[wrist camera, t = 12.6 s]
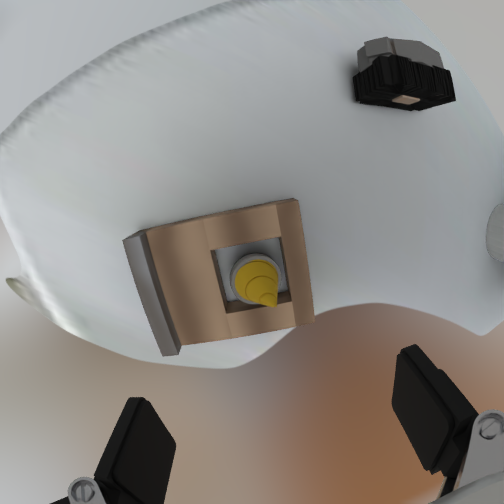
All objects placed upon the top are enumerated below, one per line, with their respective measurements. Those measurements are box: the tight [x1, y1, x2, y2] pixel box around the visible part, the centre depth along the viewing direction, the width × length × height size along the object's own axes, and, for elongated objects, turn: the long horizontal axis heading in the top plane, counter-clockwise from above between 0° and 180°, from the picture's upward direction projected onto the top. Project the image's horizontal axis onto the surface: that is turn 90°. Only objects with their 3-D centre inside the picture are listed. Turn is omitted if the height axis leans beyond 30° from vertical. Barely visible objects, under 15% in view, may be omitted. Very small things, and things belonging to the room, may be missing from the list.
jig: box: [122, 198, 315, 356], centre depth 30 cm, size 18×14×5 cm
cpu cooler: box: [353, 37, 456, 111], centre depth 22 cm, size 10×6×10 cm, turn 93°
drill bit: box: [230, 253, 282, 308], centre depth 28 cm, size 5×5×10 cm
